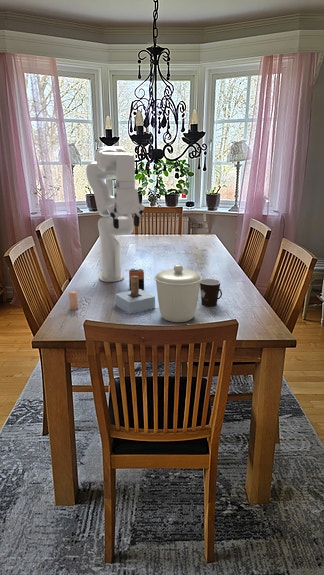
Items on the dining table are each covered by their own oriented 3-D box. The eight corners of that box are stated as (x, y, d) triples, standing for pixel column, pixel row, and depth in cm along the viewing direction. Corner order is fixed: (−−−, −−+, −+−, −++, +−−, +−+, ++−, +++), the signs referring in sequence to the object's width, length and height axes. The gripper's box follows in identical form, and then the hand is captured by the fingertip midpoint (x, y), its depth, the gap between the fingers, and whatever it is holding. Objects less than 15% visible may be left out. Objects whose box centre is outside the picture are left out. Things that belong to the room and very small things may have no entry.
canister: (194, 307, 164) (196, 258, 158) (206, 325, 147) (208, 270, 141) (151, 310, 162) (151, 259, 155) (157, 328, 145) (157, 272, 138)
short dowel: (68, 308, 163) (67, 292, 161) (76, 306, 165) (74, 290, 163) (71, 310, 161) (70, 294, 159) (79, 308, 163) (78, 292, 160)
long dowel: (133, 308, 163) (133, 278, 159) (129, 306, 166) (129, 276, 161) (140, 307, 165) (139, 277, 161) (136, 304, 167) (135, 275, 163)
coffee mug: (197, 300, 172) (198, 278, 169) (217, 300, 173) (218, 278, 170) (201, 310, 161) (202, 287, 158) (222, 310, 162) (224, 287, 159)
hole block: (115, 305, 167) (115, 293, 165) (140, 299, 173) (139, 288, 172) (129, 314, 157) (129, 302, 156) (155, 308, 164) (154, 296, 162)
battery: (129, 288, 188) (129, 267, 185) (143, 287, 189) (143, 267, 186) (129, 291, 184) (129, 270, 181) (144, 290, 185) (143, 270, 182)
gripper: (110, 186, 155) (112, 230, 160) (148, 185, 164) (148, 226, 169) (102, 185, 160) (104, 227, 166) (139, 184, 170) (139, 224, 175)
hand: (126, 227), depth 168 cm, fingers open, 9 cm apart
